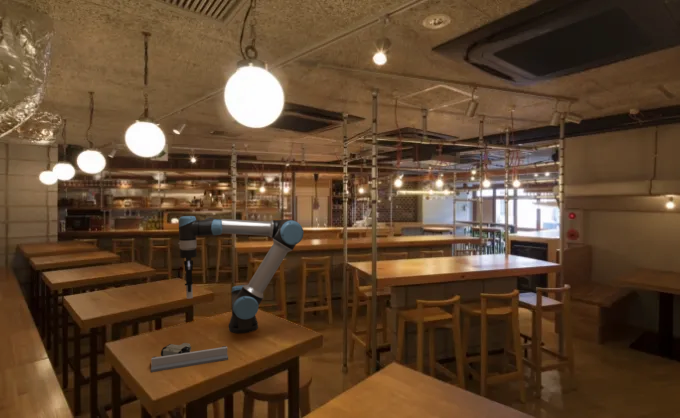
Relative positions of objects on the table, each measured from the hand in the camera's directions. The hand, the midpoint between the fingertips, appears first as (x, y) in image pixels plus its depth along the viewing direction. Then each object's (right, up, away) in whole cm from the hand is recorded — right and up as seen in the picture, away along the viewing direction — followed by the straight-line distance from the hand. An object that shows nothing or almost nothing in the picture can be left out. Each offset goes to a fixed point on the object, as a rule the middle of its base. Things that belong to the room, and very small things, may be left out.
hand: (189, 298), depth 182 cm
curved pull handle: (+8, -23, -19) cm, 31 cm away
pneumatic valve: (+2, -20, -8) cm, 21 cm away
